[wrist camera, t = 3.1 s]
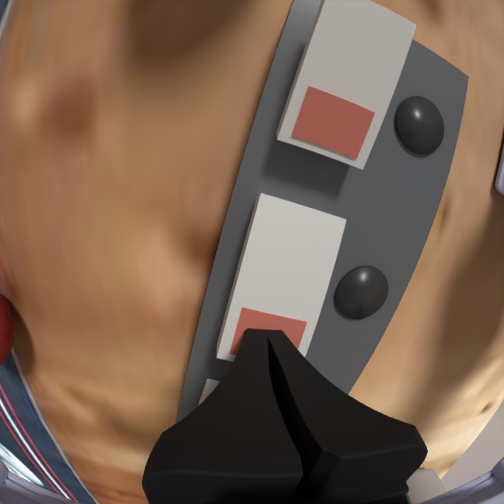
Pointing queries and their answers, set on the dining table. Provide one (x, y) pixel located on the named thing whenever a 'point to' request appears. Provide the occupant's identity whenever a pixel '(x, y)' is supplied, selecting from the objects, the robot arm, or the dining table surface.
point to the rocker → (346, 79)
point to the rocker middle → (281, 273)
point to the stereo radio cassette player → (424, 486)
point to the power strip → (341, 208)
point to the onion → (5, 329)
